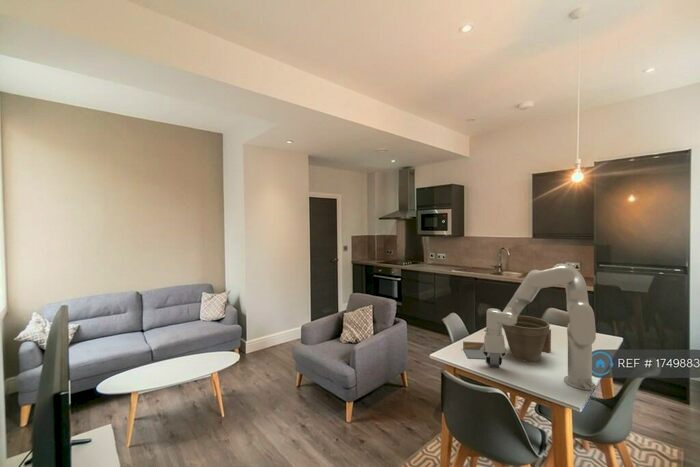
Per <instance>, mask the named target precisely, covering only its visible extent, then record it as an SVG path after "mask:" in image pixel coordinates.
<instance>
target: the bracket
mask: <svg viewBox="0 0 700 467" xmlns="http://www.w3.org/2000/svg"><path fill="white" fill-rule="evenodd" d="M489 357H490V365H489V364H488V363H487V362H486V364H487V366H488V367H489V368H491V369H493V368H494V369H500V365H499V353H490V355H489Z"/></svg>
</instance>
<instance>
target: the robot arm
mask: <svg viewBox="0 0 700 467" xmlns="http://www.w3.org/2000/svg"><path fill="white" fill-rule="evenodd" d="M561 285H564V287H565V294H566V311H567V313H568V318H569V322H568V324H567V326H566V327H567V328H566V331H567V332H566V333H567V335H566V336H567V375H565V376H564V377H563V381H564V382H565V384H567V385H569V386H571V387H573V388H575V389H578V390H581V391H582V390H585V391H594V390H596V387H597V385H596V383H595V382H594V381H593V373H592V372H593V371H592V370H593V358H592V357H593V344H594V343H595V342H596V339H597V336H596V334H597V333H596V331H597V330H596V320H595V313H594V310H593V308H592V306H591V305H590V302H589V295H588V288H587V284H586V280H585V278H584V277H583V275H582V273H580V271H579V270H578V269H577V268H575V267H573V266H571V265H569V264H566V263H557V264H555V265H554V266H552V268H547V269H543V270H539V269H532V270H531V271H529V272H528V273H527V275H526V277H525V278H524V279H523V281H522V282H521V284H520V285H519V287H518V288H517V290H516V291H515V292H514V295H513V296H512V298H511V299H510V301H509V302H508V303H507V304H506V306H505V307H504V309H503V311H501V309H499V308H493V307H492V308H488V309H486V328H483V332H485V333H484V334H485V335H484V339H483V342H484V345H483V346H482V347H481V348H480V351H481V352H483V353H484V354H485V355H486V360H485V362H486V364H487V363H488V364H489V365H490V357H489V355H490V353H499V366H502V364H503V358H504V356H506V355H507V354H508V353H509V350H508V349H507V348H506V344H505V337H504V335H503V333H502V330H503V328H502V324H503V325H506V326H514V325H515V324H516V323H517V317H518V315H519V316H520V314H521V313H522V312H523V310H524V308H525V307H526V306H527V305H529V304H530V303H532V302H533V301H534V299H535V298H536V296H537V294H538V293H539V291H540V290H541V289H545V288H552V287H555V286H561ZM484 349H485V351H486V352H485V351H484ZM488 364H487V365H488ZM489 365H488V366H489Z"/></svg>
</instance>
